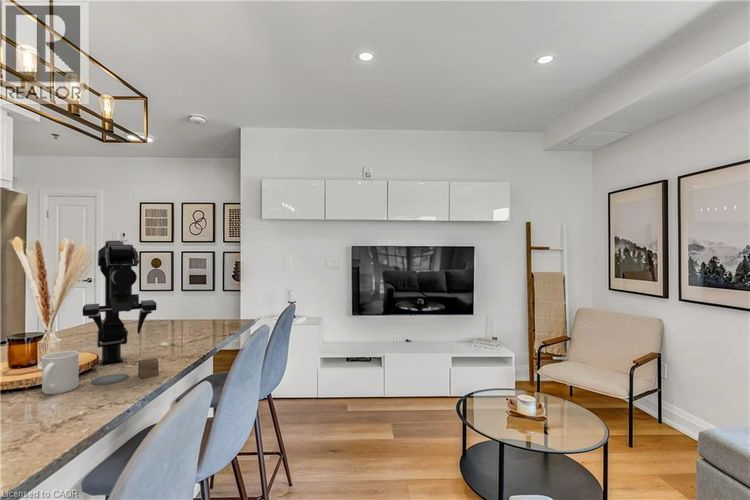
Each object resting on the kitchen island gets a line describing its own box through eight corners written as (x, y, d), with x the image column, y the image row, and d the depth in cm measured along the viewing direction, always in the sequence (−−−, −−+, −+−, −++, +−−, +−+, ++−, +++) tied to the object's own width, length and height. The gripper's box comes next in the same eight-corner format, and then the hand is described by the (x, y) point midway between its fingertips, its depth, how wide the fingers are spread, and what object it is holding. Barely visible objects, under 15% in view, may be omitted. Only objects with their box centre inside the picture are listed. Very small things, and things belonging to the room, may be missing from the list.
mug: (59, 398, 105) (59, 361, 105) (25, 401, 104) (25, 363, 104) (84, 383, 117) (84, 350, 117) (53, 385, 116) (53, 351, 116)
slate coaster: (89, 378, 122) (89, 378, 122) (127, 372, 128) (127, 371, 128) (91, 387, 114) (91, 387, 114) (131, 380, 120) (131, 379, 120)
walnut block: (138, 375, 125) (138, 360, 125) (155, 372, 129) (155, 357, 129) (140, 379, 122) (140, 363, 122) (158, 376, 125) (158, 360, 125)
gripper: (81, 289, 106) (81, 345, 107) (158, 285, 117) (158, 336, 117) (83, 285, 116) (83, 337, 116) (154, 282, 126) (154, 330, 126)
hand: (121, 335), depth 119 cm, fingers open, 9 cm apart
